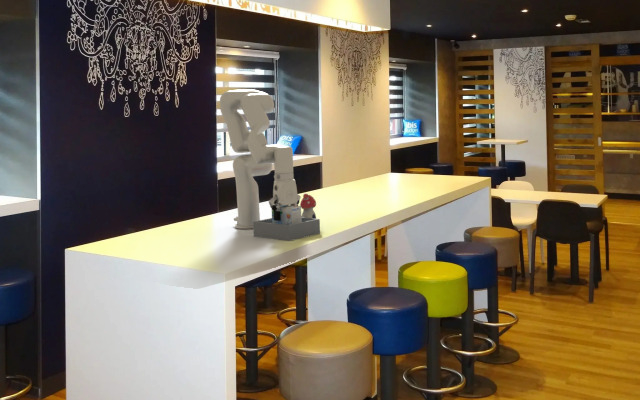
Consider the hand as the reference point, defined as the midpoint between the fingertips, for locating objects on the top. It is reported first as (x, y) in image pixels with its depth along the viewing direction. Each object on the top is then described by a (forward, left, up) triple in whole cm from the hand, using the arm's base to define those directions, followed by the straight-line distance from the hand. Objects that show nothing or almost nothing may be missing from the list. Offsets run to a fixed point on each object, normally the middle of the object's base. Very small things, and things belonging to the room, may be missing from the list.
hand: (285, 218), depth 284 cm
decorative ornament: (-3, +18, -7) cm, 19 cm away
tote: (+1, 0, -7) cm, 7 cm away
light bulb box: (0, 0, -6) cm, 6 cm away
